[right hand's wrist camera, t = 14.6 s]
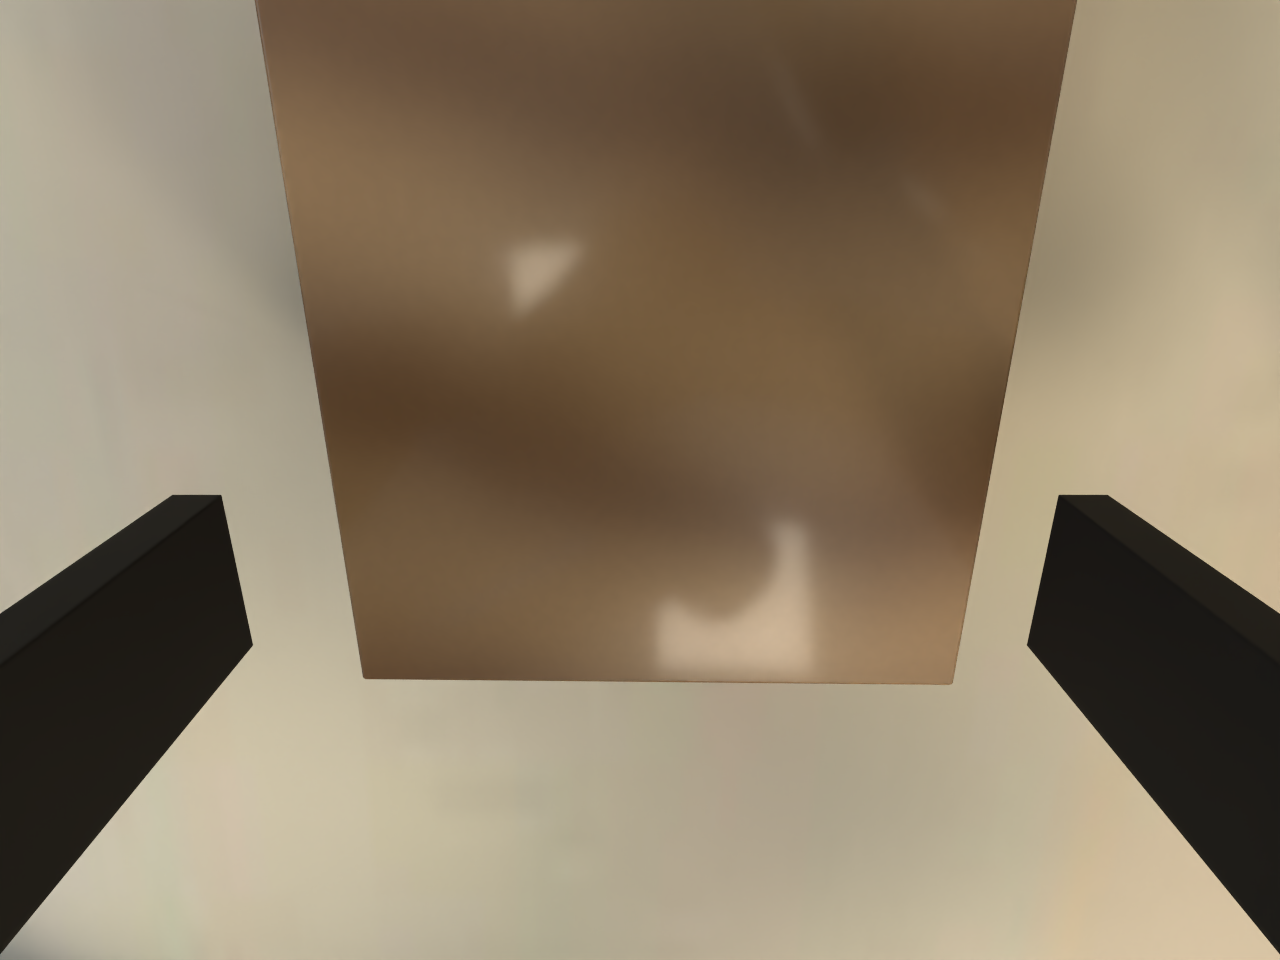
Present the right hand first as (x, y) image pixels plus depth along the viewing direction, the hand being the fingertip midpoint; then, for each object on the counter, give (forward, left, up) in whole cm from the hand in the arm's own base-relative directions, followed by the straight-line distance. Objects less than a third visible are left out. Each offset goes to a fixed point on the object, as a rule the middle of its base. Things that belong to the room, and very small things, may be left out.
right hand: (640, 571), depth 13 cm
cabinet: (+6, -5, -10) cm, 12 cm away
